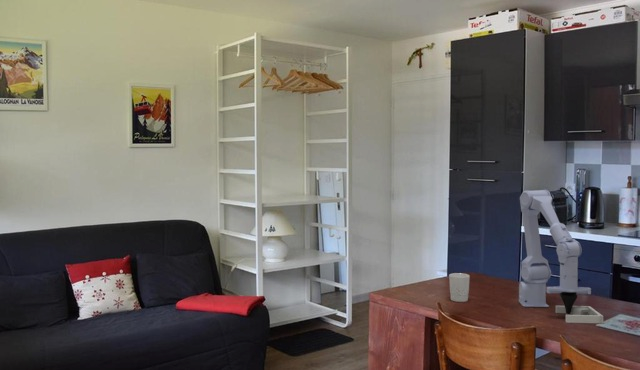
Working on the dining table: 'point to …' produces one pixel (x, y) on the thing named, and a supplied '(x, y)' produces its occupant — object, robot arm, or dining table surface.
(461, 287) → the white cup
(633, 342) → the dining table surface
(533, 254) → the robot arm
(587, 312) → the usb wall charger
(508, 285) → the dining table surface
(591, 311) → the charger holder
